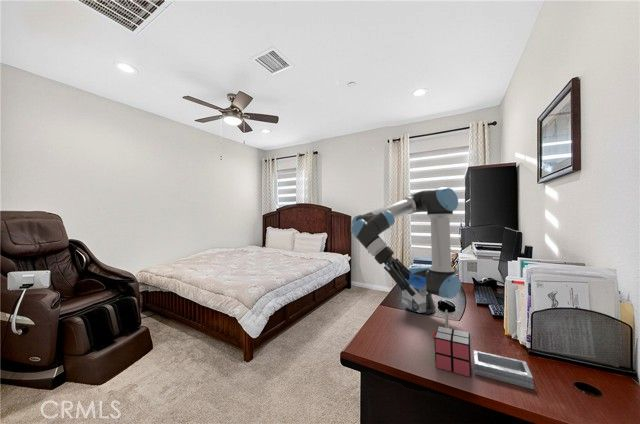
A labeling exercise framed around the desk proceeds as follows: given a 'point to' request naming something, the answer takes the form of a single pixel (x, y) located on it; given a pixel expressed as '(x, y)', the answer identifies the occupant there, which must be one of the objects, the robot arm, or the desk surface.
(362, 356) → the desk surface
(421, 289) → the label tape box
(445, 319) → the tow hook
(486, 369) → the rail tray
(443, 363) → the puzzle cube
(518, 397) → the desk surface
